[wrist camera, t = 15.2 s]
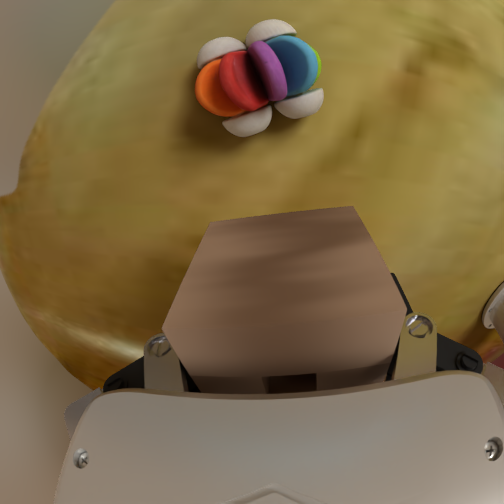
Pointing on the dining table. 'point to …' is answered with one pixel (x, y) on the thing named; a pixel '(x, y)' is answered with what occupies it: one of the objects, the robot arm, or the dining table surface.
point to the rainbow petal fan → (258, 77)
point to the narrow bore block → (286, 306)
